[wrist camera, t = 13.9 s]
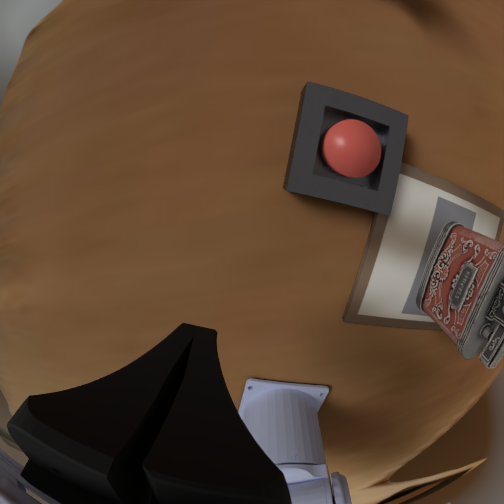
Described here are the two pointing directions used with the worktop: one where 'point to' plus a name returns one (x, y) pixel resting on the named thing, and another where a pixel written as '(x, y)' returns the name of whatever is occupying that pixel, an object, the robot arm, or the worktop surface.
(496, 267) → the lighter
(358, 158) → the button
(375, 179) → the button housing
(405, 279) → the board
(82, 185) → the worktop surface
